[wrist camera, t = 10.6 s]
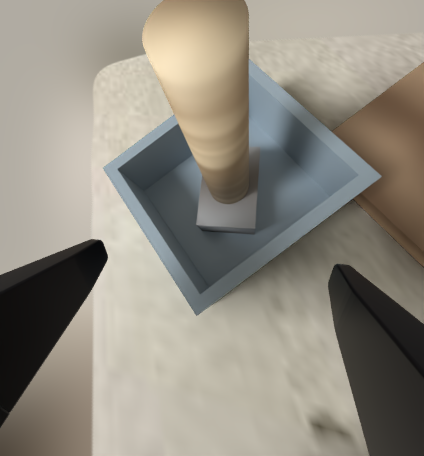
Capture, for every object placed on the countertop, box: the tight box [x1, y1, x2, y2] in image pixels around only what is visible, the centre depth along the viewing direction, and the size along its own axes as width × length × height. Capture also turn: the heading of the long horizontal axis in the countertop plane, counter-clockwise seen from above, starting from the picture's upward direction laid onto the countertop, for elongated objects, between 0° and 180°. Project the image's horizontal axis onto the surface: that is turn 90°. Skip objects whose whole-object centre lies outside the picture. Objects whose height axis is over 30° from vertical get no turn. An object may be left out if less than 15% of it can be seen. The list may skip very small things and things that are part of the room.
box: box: [103, 59, 382, 316], centre depth 16 cm, size 13×12×4 cm
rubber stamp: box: [142, 0, 260, 235], centre depth 11 cm, size 6×4×12 cm, turn 174°
